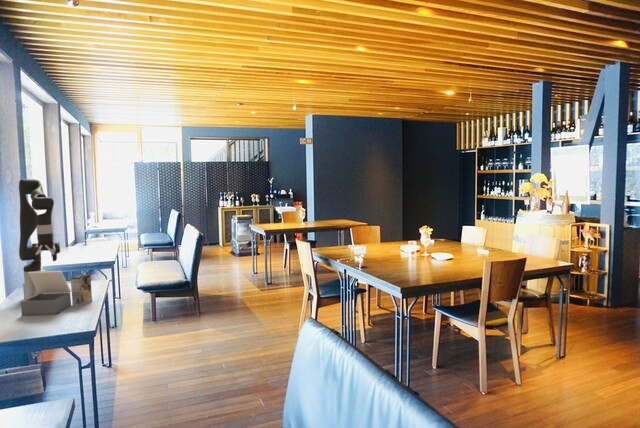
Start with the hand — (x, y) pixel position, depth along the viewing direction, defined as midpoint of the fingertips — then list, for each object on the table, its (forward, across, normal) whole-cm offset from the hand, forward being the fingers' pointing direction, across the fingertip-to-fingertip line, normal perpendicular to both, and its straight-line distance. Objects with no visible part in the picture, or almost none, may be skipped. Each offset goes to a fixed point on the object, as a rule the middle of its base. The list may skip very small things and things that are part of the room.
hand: (46, 261), depth 248 cm
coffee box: (+28, -12, -12) cm, 33 cm away
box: (+28, 0, +3) cm, 28 cm away
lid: (+13, 0, -1) cm, 13 cm away
